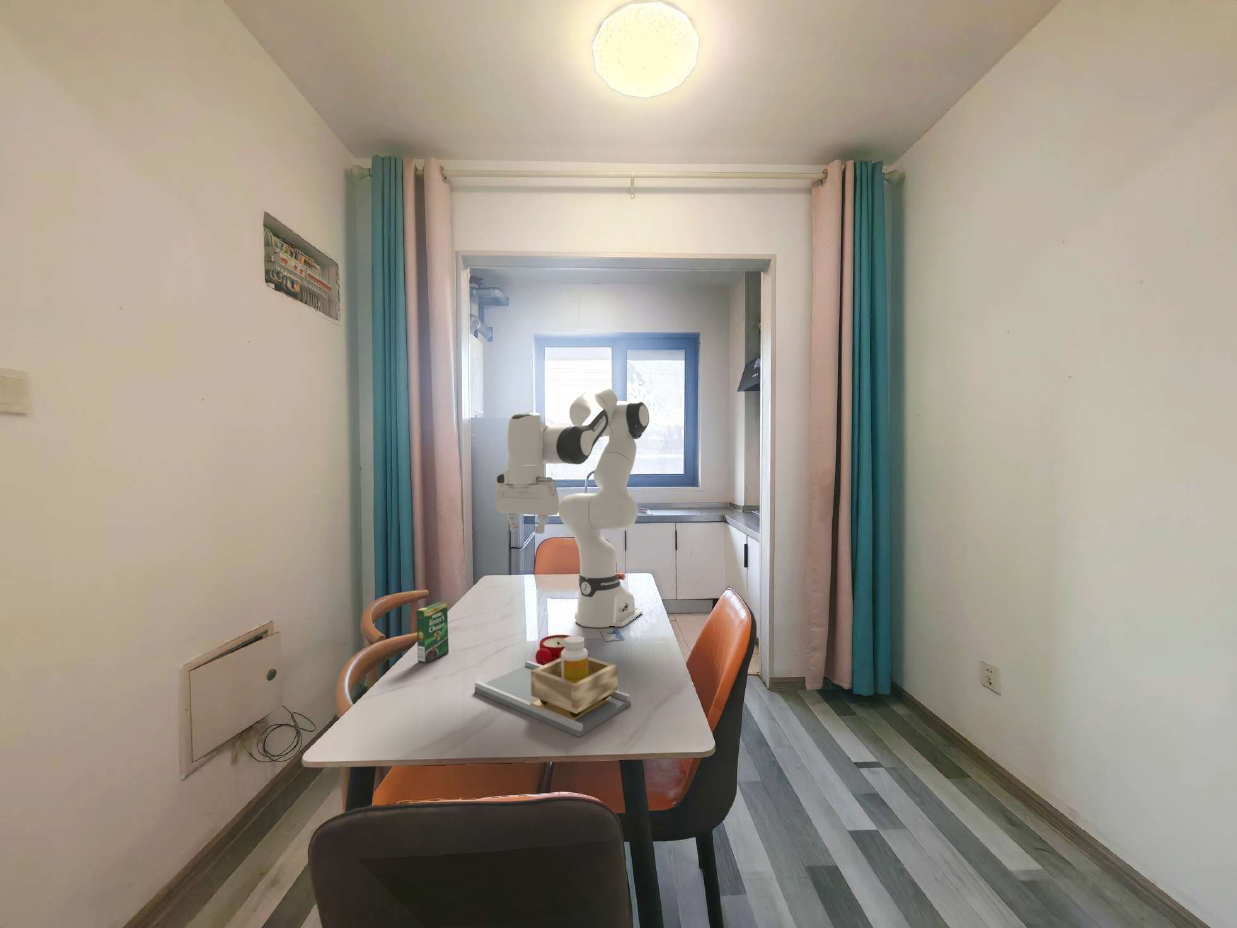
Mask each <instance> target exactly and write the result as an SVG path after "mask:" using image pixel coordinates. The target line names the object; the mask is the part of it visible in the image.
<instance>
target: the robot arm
mask: <svg viewBox="0 0 1237 928" xmlns="http://www.w3.org/2000/svg"><path fill="white" fill-rule="evenodd" d="M568 413H569V419H570V421H571V423H572V425H569V426H567V425H566V426H553V427H551V426H549V425H547V424H545V423H544V422H543V421H542V417H541V415H540V413H538V412H525V413H516V414H513V415H512V416H511V417H510V419H509V422H508V429H507V450H508V455H509V456H508V457H509V458H508V463H507V469H506V470H505V471H503V472H501V473H498V474H496V475H495V477H494V483H495V484H496V487H495V490H494V491H495V492H494V493H495V494H494V501H495V502H494V504H495V508H496V509H495V510H496V511H497V512H498V513H503V514H506V519H507V521H508V524H509V531H511V532H518V531H519V530H520V528H519V527H520V524H519V523H517V519H516V517H517V514H519V515H529V516H530V515H531V516H537V520H538V523H537V525H536V526H534V529H535V530H534V533H535V534H538V535H539V534H540V535H541V534H544V533H545V526H546V524H547V522H548V520H549V517H551V516H557V515H559V519H560V521H561V523H563V524H564V525H565V526H566V528H568V529H569V531H570V532H571V533H572V535H573V537H574V539H575V541H576V544H577V547H578V548H577V549H578V554H579V571H580V573H579V575H578V587H579V591H578V595H577V596H578V597H577V607H576V609H577V610H576V612H575V615H574V616H576V617H575V623H576V622H577V623H578V625H579V624H580V625H579V626H582V627H588V628H599V629H600V628H609V626H615V628H617V627H624V626H626V625H628V624H629V623H631V622H632V621H634V620H635V619H636V617H637V616H638V617H640V616H641V615H643V614H644V613H643V610H642V609H640V608H639V607H636V605H635V597H634V595H633V594H632V593H631V592H630V591H629V590H627V589H626V588H625V587H624V586H623V585H621V581H625V579H626V574H625V573H621V572H618V573H617V550H616V548H615V546H614V544H612V543H611V542H609V541H607V540H606V538H605V537H604V536H603V533H602V531H601V530H603V531H604V530H606V531H608V530H609V531H619V530H625V529H631V527H633V526H634V525H635V523H636V521H637V520H638V515H639V509H638V504H637V503H636V501H635V500H634V498H633V497H632V496H631V495H630V494H629V493H628V489H627V488H628V487H627V486H628V482H629V479H630V475H631V474H632V469H633V467H634V464H635V461H636V460H635V459H636V455H637V443H636V441H635V440H638V439H640V438H641V437H642V436H643V433H644V432H645V431H646V429H647V427H648V425H649V423H650V413H649V409H648V407H647V406H646V404H645V403H644V402H642V401H640V400H639V401H638V400H630V401H618V397H617V394H616V393H615V391H613V389H611V388H609V387H607V386H598V387H594V388H591V389H589V390H588V391H586V392H584V393H582V394H581V395H580V396H578V397H577V398H576V399H575V400H574V401H572V403H571V405H570V407H569V412H568ZM601 437H608V442H607V444H606V445H605V447H604V449H603V451H602V453H601V455H600V457H599V459H598V462H597V465H596V467H595V469H594V472H593V480H594V483H595V485H596V486H597V487H598V488H599V489H600V490H601V491H599V492H593V493H592V492H577V493H573V494H572V493H571V494H567V495H565V496H563V498H562V499H561V501H560V500H559V493H558V488H557V482H556V481H555V480H554V479H553V478H552V477H551V476H547V477H546V476H545V472H544V471H545V470H544V468H545V467H544V464H552V465H553V464H554V465H555V464H556V465H558V464H568V465H582V464H584V463H586V461H587V460H588V458H589V457H590V455H591V453H592V452H593V448H594V446H595V445H596V443H597V442H598V440H599V439H600V438H601ZM642 613H643V614H642ZM640 614H641V615H640ZM639 615H640V616H639ZM638 617H637V618H638ZM633 619H634V620H633ZM630 621H631V622H630ZM577 623H576V624H577Z"/></svg>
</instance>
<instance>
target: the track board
mask: <svg viewBox="0 0 1237 928" xmlns="http://www.w3.org/2000/svg"><path fill="white" fill-rule="evenodd" d="M541 666H543V665H540V664H538V663H537V662H535V661H530V660H526V661H525V664H524V666H521V667H519V668H517V669H514V670H511V671H510V672H507V673H505V674H503V675H501V676H498V677H496V678H493V679H491V680H489V681H486V682H481V681H479V680H477V681H475V682H474V693H475V694H476V693H477V694H479V695H481V696H482V697H485V698H487V697H488V699H490V700H492V701H494V702H496V703H497V702H498V703H499V702H500V703H499V704H501V705H504V706H506V707H508V706H509V708H510V709H513V710H515V711H518V712H520V713H523V714H524V715H527V716H528V717H531V718H534V719H536V720H539V721H541V722H543V723H545V724H547V725H550V726H551V727H555V728H557V729H559V730H561V731H564V732H566V733H568V734H570V735H573V736H575V737H576V738H581V737H582V736H584V735H586V734H587V733H589V732H590V731H592V730H593V729H595V728H597V727H598V726H600V725H601V724H602V723H604V722H606V721H607V720H609V719H610V718H612V717H614V716H615V715H617V714H619V713H620V712H622V711H623V710H624V709H626V708H628V707H630V706H631V694H628V693H626V692H622V691H621V690H616V691H615V692H613V693H611V694H610V696H609V698H607V699H605V700H602V699H601V700H599V701H597V702H596V703H594V704H592V705H590V706H589V707H587V708H585V709H584V710H582V711H581V714H580V715H578V716H576V717H573V716H572V715H571V714H570V711H569V710H566V709H564V708H561V707H559V706H556V705H554V704H551V703H547V704H546V705H543V704H542V703H541V701H540V699H538V698H536V697H533V696H531V671H532V670H534V669H536V668H539V667H541Z"/></svg>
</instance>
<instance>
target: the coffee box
mask: <svg viewBox="0 0 1237 928" xmlns="http://www.w3.org/2000/svg"><path fill="white" fill-rule="evenodd" d="M415 612H416V613H415V614H416V637H417V639H416V642H417V643H416V644H417V662H418V663H421V664H427V663H429V662H431V661H433V660H435V659H437V658H440V657H443V656H444V655H446V654H448V653H449V648H450V647H449V646H450V645H449V621H448V619H449V617H448V602H446V601H437V602H435V603H432V604H430V605H428V606H425V607H421V608H419V609H417V610H416V611H415Z"/></svg>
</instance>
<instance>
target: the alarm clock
mask: <svg viewBox="0 0 1237 928" xmlns="http://www.w3.org/2000/svg"><path fill="white" fill-rule="evenodd" d="M569 636H570V635H568V634H553V635H548V636H546V637H543V638H541V640H539V649H538V650H537V651H536V653H535V663H537V664H540V665H546V664H548V663H550V662H552V661H555V660H557V659H559V658H561V652H562V651H563V650H564V649H565V647H564V639H565V638H566V637H569Z"/></svg>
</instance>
